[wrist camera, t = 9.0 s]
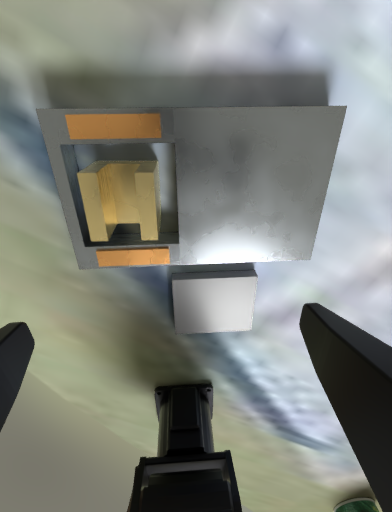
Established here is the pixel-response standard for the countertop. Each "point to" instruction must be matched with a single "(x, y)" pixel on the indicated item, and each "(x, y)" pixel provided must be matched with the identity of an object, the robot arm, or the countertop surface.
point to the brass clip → (121, 197)
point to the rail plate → (208, 180)
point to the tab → (213, 301)
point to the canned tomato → (357, 505)
